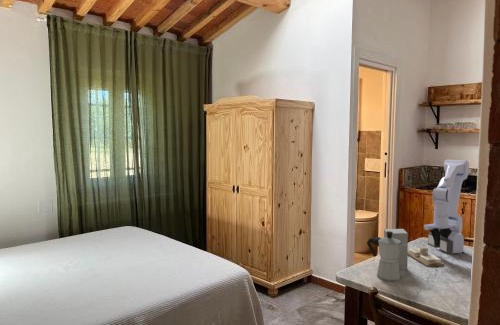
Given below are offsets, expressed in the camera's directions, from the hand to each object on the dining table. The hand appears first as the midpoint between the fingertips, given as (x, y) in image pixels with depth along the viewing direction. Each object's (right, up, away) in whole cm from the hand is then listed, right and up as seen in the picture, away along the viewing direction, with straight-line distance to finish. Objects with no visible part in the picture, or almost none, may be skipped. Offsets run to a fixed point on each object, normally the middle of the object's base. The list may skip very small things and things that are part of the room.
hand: (439, 245), depth 166 cm
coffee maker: (-31, -8, -20) cm, 38 cm away
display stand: (-8, -6, 0) cm, 10 cm away
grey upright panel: (0, -2, 0) cm, 2 cm away
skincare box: (-24, -7, -10) cm, 27 cm away
